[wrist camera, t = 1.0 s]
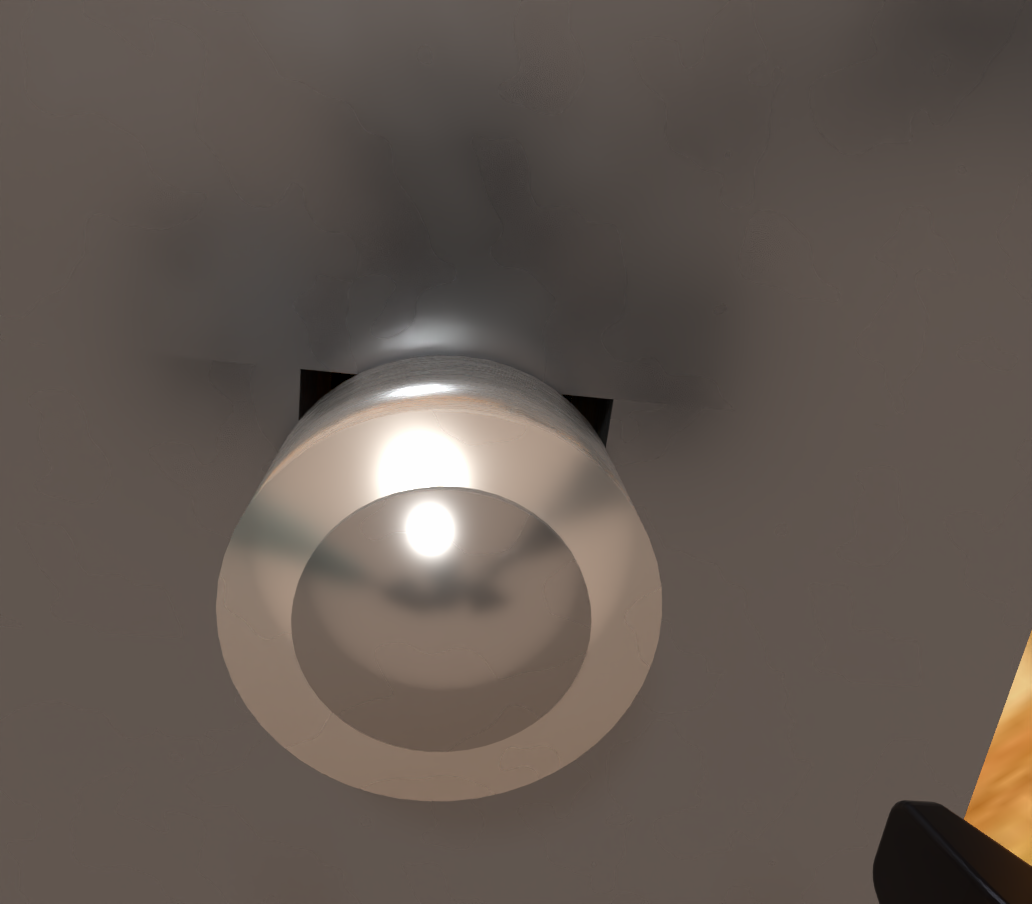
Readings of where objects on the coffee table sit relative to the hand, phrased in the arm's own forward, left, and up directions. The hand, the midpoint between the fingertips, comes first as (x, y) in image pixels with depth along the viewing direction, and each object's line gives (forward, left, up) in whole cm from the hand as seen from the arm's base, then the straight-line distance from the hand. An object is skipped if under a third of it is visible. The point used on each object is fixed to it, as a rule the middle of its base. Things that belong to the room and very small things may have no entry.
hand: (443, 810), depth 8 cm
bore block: (0, 0, -11) cm, 11 cm away
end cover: (0, 0, -11) cm, 11 cm away
